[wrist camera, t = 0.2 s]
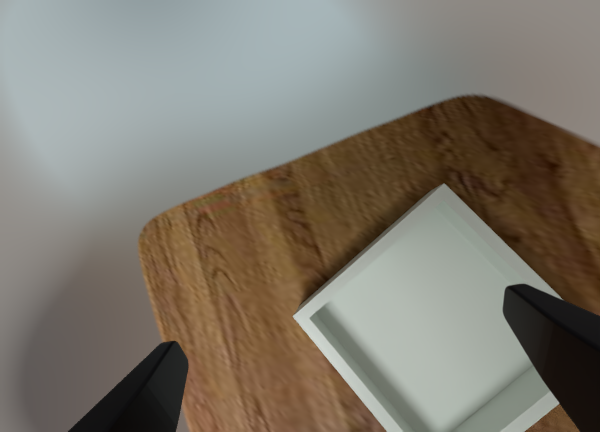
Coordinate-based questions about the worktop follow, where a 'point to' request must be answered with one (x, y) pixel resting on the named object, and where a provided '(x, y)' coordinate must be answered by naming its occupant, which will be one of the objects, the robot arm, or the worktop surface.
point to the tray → (431, 325)
